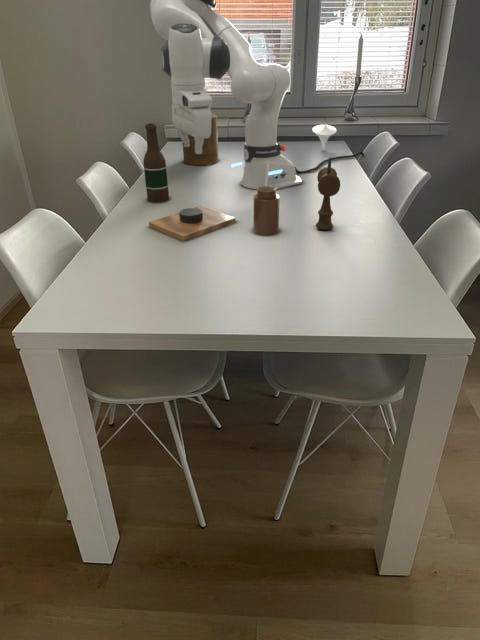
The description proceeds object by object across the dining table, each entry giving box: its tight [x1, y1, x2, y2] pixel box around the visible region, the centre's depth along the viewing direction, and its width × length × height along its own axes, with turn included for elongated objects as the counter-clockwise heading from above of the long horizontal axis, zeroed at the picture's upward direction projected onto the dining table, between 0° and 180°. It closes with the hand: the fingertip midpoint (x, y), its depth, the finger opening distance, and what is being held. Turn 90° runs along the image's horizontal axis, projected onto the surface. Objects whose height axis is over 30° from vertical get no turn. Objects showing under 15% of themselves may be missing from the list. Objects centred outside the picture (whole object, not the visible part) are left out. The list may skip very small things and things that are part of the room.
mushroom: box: [311, 123, 338, 152], centre depth 220 cm, size 10×11×12 cm
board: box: [148, 205, 237, 242], centre depth 145 cm, size 20×16×2 cm
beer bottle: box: [143, 123, 170, 203], centre depth 160 cm, size 8×8×24 cm
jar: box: [252, 186, 280, 236], centre depth 137 cm, size 7×7×12 cm
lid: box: [179, 207, 203, 224], centre depth 144 cm, size 7×7×2 cm
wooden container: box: [182, 113, 219, 166], centre depth 204 cm, size 15×15×22 cm
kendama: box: [315, 157, 341, 231], centre depth 136 cm, size 6×10×20 cm, turn 175°
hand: (192, 149), depth 136 cm, fingers open, 8 cm apart
